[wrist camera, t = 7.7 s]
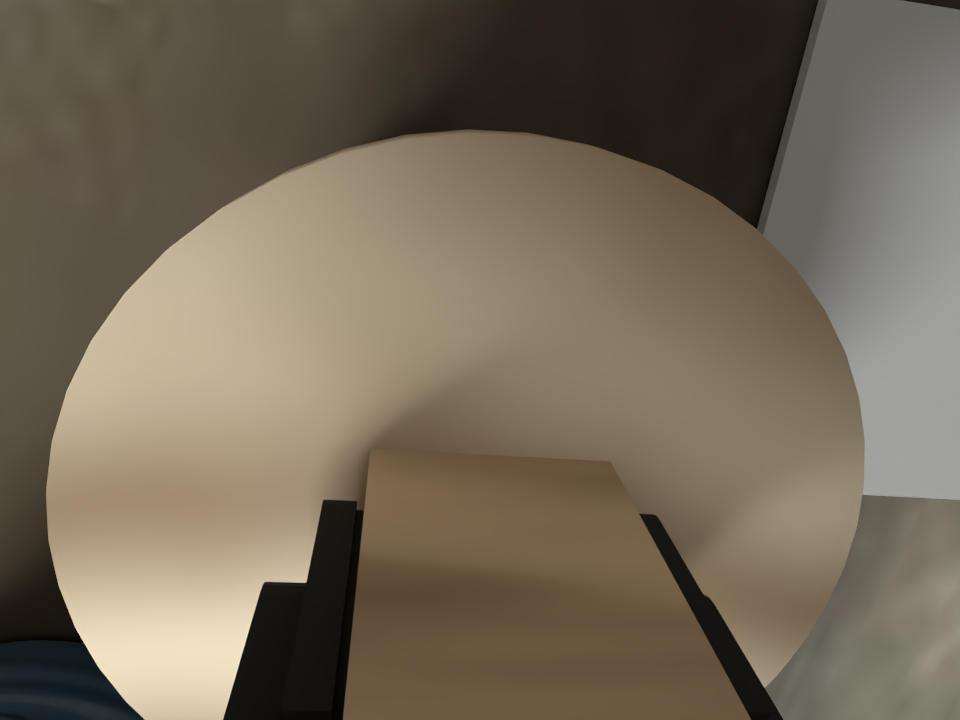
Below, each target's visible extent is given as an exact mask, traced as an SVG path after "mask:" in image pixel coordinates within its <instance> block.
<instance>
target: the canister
mask: <svg viewBox="0 0 960 720" xmlns="http://www.w3.org/2000/svg"><path fill="white" fill-rule="evenodd" d="M0 720H145V719H144V718H143V717H142V716H140V715H139V714H138V713H137V712H136V711H135V710H134V709H133V708H132V707H131V706H130V705H129V704H128V703H127V702H126V701H125V700H124V699H123V697H122V696H121V695H120V694H119V692H118V691H117V690H116V689H115V687H114V686H113V685H112V684H111V682H110V681H109V680H108V679H107V677H106V676H105V675H104V674H103V672H102V671H101V670H100V669H99V667H98V666H97V664H96V662H95V661H94V659H93V657H92V656H91V654H90V652H89V651H88V649H87V647H86V645H85V644H84V643H76V642H67V641H51V640H31V641H15V642H7V643H0Z"/></svg>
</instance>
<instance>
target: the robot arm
mask: <svg viewBox="0 0 960 720" xmlns="http://www.w3.org/2000/svg"><path fill="white" fill-rule="evenodd" d="M639 515H640V517H641V518H642V520H643V522H644V524H645V526H646V528H647V529H648V531H649V533H650V535H651V537H652V539H653V540H654V542H655V544H656V546H657V548H658V550H659V551H660V553H661V555H662V557H663V559H664V561H665V562H666V564H667V566H668V568H669V570H670V572H671V573H672V575H673V577H674V579H675V581H676V583H677V584H678V586H679V588H680V590H681V592H682V594H683V595H684V597H685V599H686V601H687V603H688V605H689V606H690V608H691V610H692V612H693V614H694V616H695V617H696V619H697V621H698V623H699V625H700V627H701V628H702V630H703V632H704V634H705V636H706V638H707V639H708V641H709V643H710V645H711V647H712V649H713V650H714V652H715V654H716V656H717V658H718V660H719V661H720V663H721V665H722V667H723V669H724V671H725V672H726V674H727V676H728V678H729V680H730V682H731V683H732V685H733V687H734V689H735V691H736V693H737V694H738V696H739V698H740V700H741V702H742V704H743V705H744V707H745V709H746V711H747V713H748V715H749V716H750V718H751V720H783V718H782V717H781V715H780V713H779V712H778V710H777V708H776V707H775V705H774V703H773V702H772V700H771V698H770V697H769V695H768V693H767V692H766V690H765V688H764V686H763V685H762V683H761V681H760V680H759V678H758V676H757V675H756V673H755V671H754V670H753V668H752V666H751V665H750V663H749V661H748V660H747V658H746V656H745V655H744V653H743V651H742V650H741V648H740V646H739V645H738V643H737V641H736V639H735V638H734V636H733V634H732V633H731V631H730V629H729V628H728V626H727V624H726V623H725V621H724V619H723V618H722V616H721V614H720V613H719V611H718V609H717V608H716V606H715V604H714V603H713V602H712V600H711V599H710V598H709V597H708V596H706V595H704V594H703V593H702V591H701V590H700V588H699V586H698V584H697V583H696V581H695V579H694V578H693V576H692V574H691V572H690V571H689V569H688V567H687V566H686V564H685V562H684V561H683V559H682V557H681V555H680V554H679V552H678V550H677V549H676V547H675V545H674V543H673V542H672V540H671V538H670V537H669V535H668V533H667V531H666V530H665V528H664V526H663V525H662V523H661V521H660V520H659V518H658V517H657V516H656V515H654V514H639ZM363 517H364V510H357V501H346V500H323V503H322V508H321V513H320V518H319V523H318V528H317V533H316V537H315V542H314V547H313V552H312V557H311V562H310V567H309V572H308V577H307V582H306V583H293V582H264V584H263V586H262V588H261V591H260V594H259V598H258V601H257V605H256V608H255V612H254V615H253V618H252V622H251V625H250V629H249V632H248V636H247V639H246V642H245V646H244V649H243V653H242V656H241V660H240V663H239V667H238V670H237V673H236V677H235V680H234V684H233V687H232V691H231V694H230V697H229V701H228V704H227V708H226V711H225V715H224V718H223V720H343V713H344V703H345V693H346V683H347V674H348V664H349V654H350V644H351V634H352V625H353V615H354V605H355V595H356V585H357V575H358V566H359V556H360V546H361V536H362V526H363Z"/></svg>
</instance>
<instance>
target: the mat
mask: <svg viewBox="0 0 960 720" xmlns="http://www.w3.org/2000/svg"><path fill="white" fill-rule="evenodd" d="M757 230H758V231H760V233H761V234H762V235H763V236H764V237H765V238H766V239H767V240H768V241H769V242H770V243H771V244H772V245H773V246H774V247H775V248H776V249H777V250H778V251H779V252H780V253H781V254H782V255H783V256H784V257H785V258H786V259H787V260H788V261H789V262H790V263H791V264H792V265H793V266H794V267H795V268H796V270H797V271H798V272H799V274H800V275H801V277H802V278H803V279H804V281H805V282H806V284H807V285H808V287H809V288H810V289H811V291H812V292H813V294H814V295H815V296H816V298H817V299H818V301H819V302H820V304H821V305H822V306H823V308H824V309H825V311H826V313H827V315H828V317H829V319H830V321H831V323H832V326H833V328H834V330H835V332H836V334H837V336H838V338H839V340H840V342H841V344H842V346H843V348H844V350H845V352H846V355H847V359H848V362H849V365H850V369H851V372H852V375H853V379H854V382H855V385H856V389H857V392H858V395H859V401H860V408H861V416H862V424H863V431H864V439H865V459H864V488H863V494H862V495H880V496H899V497H917V498H936V499H955V500H960V10H958V9H952V8H946V7H940V6H934V5H928V4H921V3H915V2H909V1H903V0H818V4H817V8H816V11H815V15H814V19H813V23H812V26H811V30H810V34H809V37H808V41H807V45H806V49H805V52H804V56H803V60H802V63H801V67H800V71H799V74H798V78H797V82H796V86H795V89H794V93H793V97H792V100H791V104H790V108H789V112H788V115H787V119H786V123H785V126H784V130H783V134H782V138H781V141H780V145H779V149H778V152H777V156H776V160H775V164H774V167H773V171H772V175H771V178H770V182H769V186H768V190H767V193H766V197H765V201H764V204H763V208H762V212H761V216H760V219H759V223H758V227H757Z"/></svg>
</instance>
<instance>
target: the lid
mask: <svg viewBox="0 0 960 720" xmlns="http://www.w3.org/2000/svg"><path fill="white" fill-rule="evenodd" d="M864 459H865V439H864V431H863V424H862V416H861V408H860V401H859V395H858V392H857V389H856V385H855V382H854V379H853V375H852V372H851V369H850V365H849V362H848V359H847V355H846V352H845V350H844V348H843V346H842V344H841V342H840V340H839V338H838V336H837V334H836V332H835V330H834V328H833V326H832V323H831V321H830V319H829V317H828V315H827V313H826V311H825V309H824V308H823V306H822V305H821V304H820V302H819V301H818V299H817V298H816V296H815V295H814V294H813V292H812V291H811V289H810V288H809V287H808V285H807V284H806V282H805V281H804V279H803V278H802V277H801V275H800V274H799V272H798V271H797V270H796V268H795V267H794V266H793V265H792V264H791V263H790V262H789V261H788V260H787V259H786V258H785V257H784V256H783V255H782V254H781V253H780V252H779V251H778V250H777V249H776V248H775V247H774V246H773V245H772V244H771V243H770V242H769V241H768V240H767V239H766V238H765V237H764V236H763V235H762V234H761V233H760V231H758V230H757V229H756V228H754V227H753V226H752V225H750V224H749V223H748V222H746V221H745V220H744V219H742V218H741V217H740V216H738V215H737V214H736V213H734V212H733V211H732V210H730V209H729V208H727V207H726V206H725V205H723V204H722V203H721V202H719V201H718V200H717V199H715V198H714V197H712V196H710V195H708V194H707V193H705V192H703V191H701V190H699V189H697V188H695V187H693V186H691V185H689V184H688V183H686V182H684V181H682V180H680V179H678V178H676V177H674V176H672V175H671V174H669V173H667V172H665V171H663V170H661V169H658V168H655V167H652V166H649V165H647V164H644V163H641V162H638V161H635V160H632V159H629V158H627V157H624V156H621V155H618V154H615V153H612V152H609V151H607V150H604V149H601V148H597V147H594V146H591V145H588V144H584V143H579V142H574V141H568V140H563V139H558V138H553V137H548V136H543V135H538V134H533V133H527V132H508V131H490V130H471V129H465V130H454V131H442V132H430V133H419V134H407V135H402V136H398V137H393V138H389V139H385V140H380V141H376V142H371V143H367V144H363V145H358V146H354V147H349V148H345V149H343V150H340V151H337V152H335V153H332V154H330V155H327V156H324V157H322V158H319V159H316V160H314V161H311V162H309V163H306V164H303V165H301V166H298V167H295V168H293V169H290V170H288V171H286V172H284V173H282V174H281V175H279V176H277V177H275V178H273V179H272V180H270V181H268V182H266V183H264V184H262V185H261V186H259V187H257V188H255V189H253V190H252V191H250V192H248V193H246V194H244V195H243V196H241V197H239V198H237V199H235V200H234V201H232V202H231V203H229V204H228V205H226V206H225V207H223V208H221V209H220V210H218V211H217V212H216V213H214V214H213V215H212V216H211V217H209V218H208V219H207V220H205V221H204V222H203V223H201V224H200V225H199V226H197V227H196V228H195V229H193V230H192V231H191V232H189V233H188V234H187V235H185V236H184V237H183V238H182V239H180V240H179V241H178V242H176V243H175V244H174V245H172V246H171V247H170V248H168V249H167V250H166V251H165V252H164V253H163V254H162V255H161V256H160V257H159V258H158V260H157V261H156V262H155V263H154V264H153V265H152V266H151V267H150V268H149V269H148V270H147V271H146V272H145V273H144V274H143V275H142V276H141V277H140V278H139V279H138V280H137V281H136V282H135V283H134V284H133V285H132V286H131V287H130V288H129V289H128V290H127V291H126V292H125V294H124V295H123V296H122V298H121V299H120V301H119V302H118V304H117V305H116V306H115V308H114V309H113V311H112V312H111V313H110V315H109V316H108V318H107V319H106V321H105V322H104V323H103V325H102V326H101V328H100V329H99V330H98V332H97V333H96V335H95V336H94V338H93V339H92V340H91V342H90V344H89V346H88V348H87V350H86V352H85V355H84V357H83V359H82V361H81V363H80V365H79V367H78V369H77V371H76V373H75V375H74V377H73V379H72V381H71V383H70V385H69V387H68V389H67V392H66V395H65V399H64V402H63V405H62V409H61V412H60V416H59V419H58V422H57V426H56V429H55V433H54V436H53V439H52V445H51V453H50V462H49V470H48V478H47V487H46V502H47V522H48V540H49V545H50V549H51V554H52V558H53V563H54V567H55V572H56V577H57V581H58V586H59V588H60V591H61V593H62V596H63V598H64V601H65V603H66V606H67V608H68V611H69V613H70V616H71V618H72V621H73V623H74V626H75V628H76V630H77V632H78V633H79V635H80V637H81V639H82V640H83V642H84V644H85V645H86V647H87V649H88V651H89V652H90V654H91V656H92V657H93V659H94V661H95V662H96V664H97V666H98V667H99V669H100V670H101V671H102V672H103V674H104V675H105V676H106V677H107V679H108V680H109V681H110V682H111V684H112V685H113V686H114V687H115V689H116V690H117V691H118V692H119V694H120V695H121V696H122V697H123V699H124V700H125V701H126V702H127V703H128V704H129V705H130V706H131V707H132V708H133V709H134V710H135V711H136V712H137V713H138V714H139V715H140V716H142V717H143V718H144V719H145V720H223V718H224V715H225V711H226V708H227V704H228V701H229V697H230V694H231V691H232V687H233V684H234V680H235V677H236V673H237V670H238V667H239V663H240V660H241V656H242V653H243V649H244V646H245V642H246V639H247V636H248V632H249V629H250V625H251V622H252V618H253V615H254V612H255V608H256V605H257V601H258V598H259V594H260V591H261V588H262V586H263V584H264V582H293V583H306V582H307V577H308V572H309V567H310V562H311V557H312V552H313V547H314V542H315V537H316V533H317V528H318V523H319V518H320V513H321V508H322V503H323V500H346V501H357V510H364V517H363V526H362V536H361V546H360V556H359V566H358V575H357V585H356V595H355V605H354V615H353V625H352V634H351V644H350V654H349V664H348V674H347V683H346V693H345V703H344V713H343V720H751V718H750V716H749V715H748V713H747V711H746V709H745V707H744V705H743V704H742V702H741V700H740V698H739V696H738V694H737V693H736V691H735V689H734V687H733V685H732V683H731V682H730V680H729V678H728V676H727V674H726V672H725V671H724V669H723V667H722V665H721V663H720V661H719V660H718V658H717V656H716V654H715V652H714V650H713V649H712V647H711V645H710V643H709V641H708V639H707V638H706V636H705V634H704V632H703V630H702V628H701V627H700V625H699V623H698V621H697V619H696V617H695V616H694V614H693V612H692V610H691V608H690V606H689V605H688V603H687V601H686V599H685V597H684V595H683V594H682V592H681V590H680V588H679V586H678V584H677V583H676V581H675V579H674V577H673V575H672V573H671V572H670V570H669V568H668V566H667V564H666V562H665V561H664V559H663V557H662V555H661V553H660V551H659V550H658V548H657V546H656V544H655V542H654V540H653V539H652V537H651V535H650V533H649V531H648V529H647V528H646V526H645V524H644V522H643V520H642V518H641V517H640V515H639V514H654V515H656V516H657V517H658V518H659V520H660V521H661V523H662V525H663V526H664V528H665V530H666V531H667V533H668V535H669V537H670V538H671V540H672V542H673V543H674V545H675V547H676V549H677V550H678V552H679V554H680V555H681V557H682V559H683V561H684V562H685V564H686V566H687V567H688V569H689V571H690V572H691V574H692V576H693V578H694V579H695V581H696V583H697V584H698V586H699V588H700V590H701V591H702V593H703V594H704V595H706V596H708V597H709V598H710V599H711V600H712V602H713V603H714V604H715V606H716V608H717V609H718V611H719V613H720V614H721V616H722V618H723V619H724V621H725V623H726V624H727V626H728V628H729V629H730V631H731V633H732V634H733V636H734V638H735V639H736V641H737V643H738V645H739V646H740V648H741V650H742V651H743V653H744V655H745V656H746V658H747V660H748V661H749V663H750V665H751V666H752V668H753V670H754V671H755V673H756V675H757V676H758V678H759V680H760V681H761V683H762V685H763V686H764V688H765V687H766V686H767V685H768V684H769V683H770V682H771V681H772V680H773V679H774V678H775V677H776V676H777V675H778V674H779V673H780V671H781V670H782V669H783V668H784V666H785V665H786V664H787V663H788V661H789V660H790V659H791V657H792V656H793V655H794V654H795V652H796V651H797V650H798V649H799V647H800V646H801V645H802V644H803V642H804V641H805V639H806V638H807V636H808V635H809V633H810V631H811V630H812V628H813V627H814V625H815V623H816V622H817V620H818V618H819V617H820V615H821V614H822V612H823V610H824V609H825V607H826V606H827V603H828V601H829V599H830V597H831V595H832V593H833V590H834V588H835V586H836V584H837V582H838V580H839V578H840V575H841V573H842V571H843V569H844V566H845V563H846V560H847V557H848V554H849V550H850V547H851V544H852V541H853V538H854V535H855V531H856V528H857V523H858V517H859V511H860V505H861V499H862V494H863V488H864Z"/></svg>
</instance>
